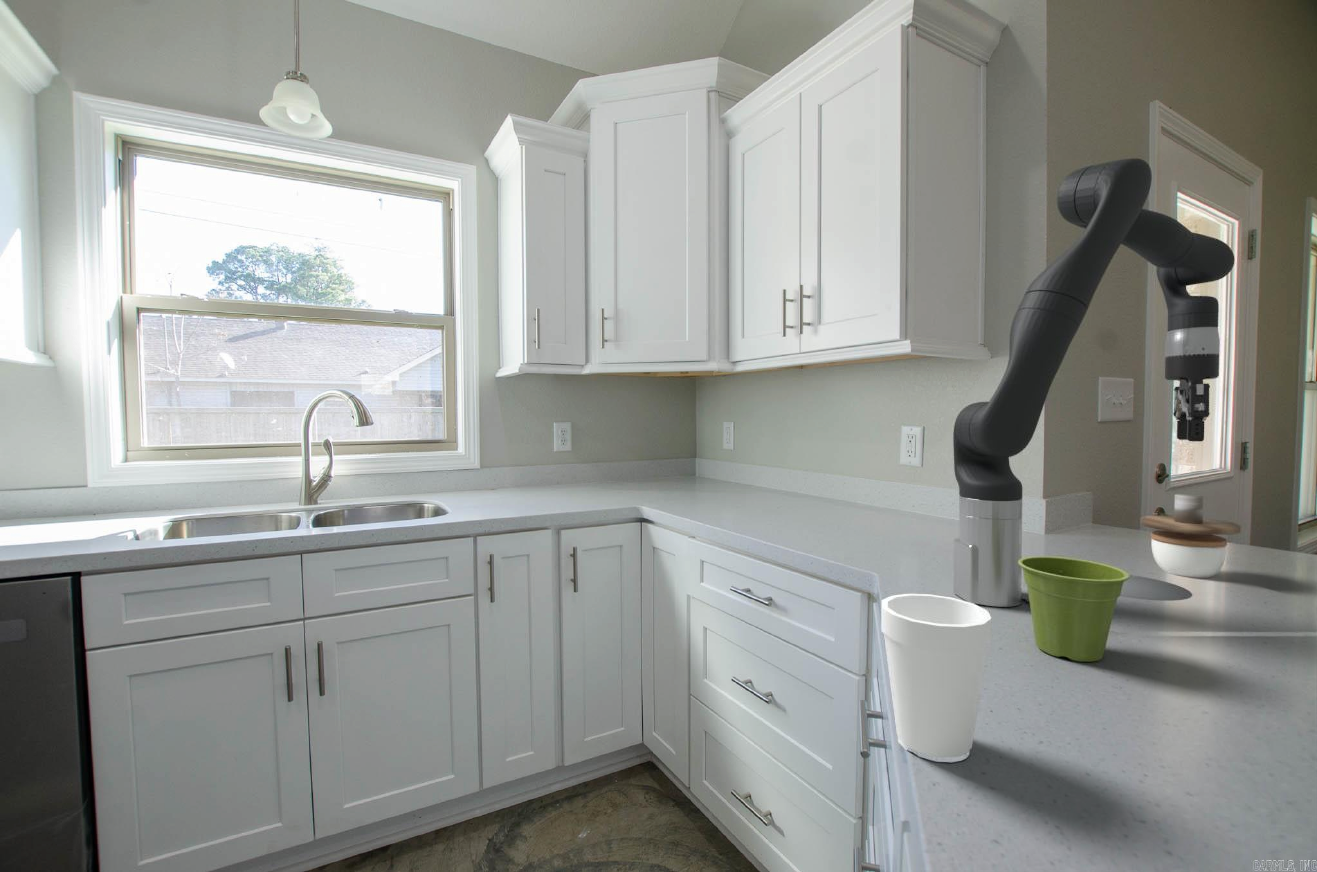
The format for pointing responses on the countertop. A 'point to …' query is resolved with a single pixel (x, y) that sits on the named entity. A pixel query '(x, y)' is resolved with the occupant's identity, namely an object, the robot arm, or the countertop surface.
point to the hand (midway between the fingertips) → (1189, 440)
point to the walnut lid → (1190, 519)
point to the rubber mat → (1152, 589)
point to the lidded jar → (1188, 553)
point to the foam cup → (935, 669)
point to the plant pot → (1072, 604)
